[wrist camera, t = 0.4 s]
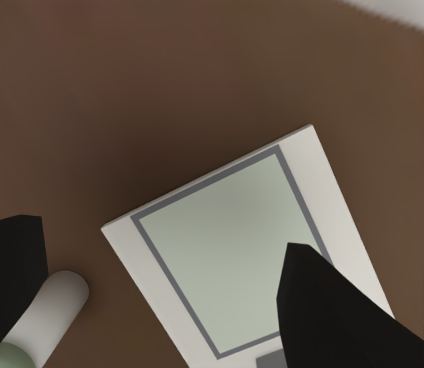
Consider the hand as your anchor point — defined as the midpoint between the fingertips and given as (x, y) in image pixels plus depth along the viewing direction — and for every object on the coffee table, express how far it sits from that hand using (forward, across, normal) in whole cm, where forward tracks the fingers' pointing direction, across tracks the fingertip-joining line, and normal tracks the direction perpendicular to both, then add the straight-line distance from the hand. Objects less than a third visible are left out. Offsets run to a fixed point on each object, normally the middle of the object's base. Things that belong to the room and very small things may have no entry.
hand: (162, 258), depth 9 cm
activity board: (+10, -5, +9) cm, 14 cm away
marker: (+9, +8, +10) cm, 16 cm away
